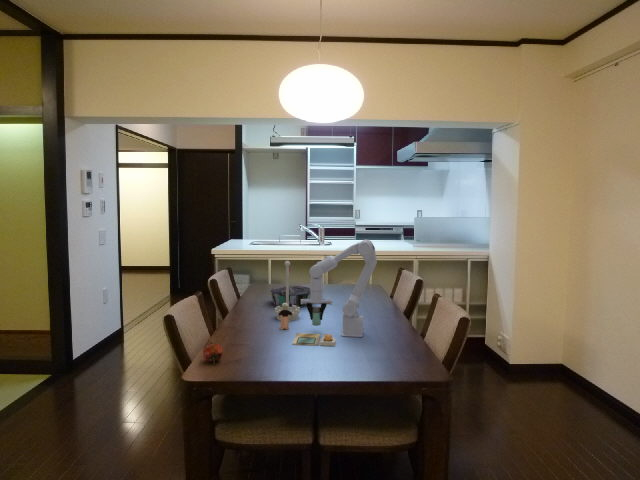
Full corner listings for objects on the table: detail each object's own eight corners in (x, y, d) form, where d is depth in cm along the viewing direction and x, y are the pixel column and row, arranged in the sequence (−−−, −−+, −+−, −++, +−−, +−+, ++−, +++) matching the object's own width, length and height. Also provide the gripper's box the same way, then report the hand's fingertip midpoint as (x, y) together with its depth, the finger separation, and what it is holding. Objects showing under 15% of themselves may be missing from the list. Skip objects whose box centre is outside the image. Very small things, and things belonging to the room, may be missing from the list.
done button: (332, 339, 186) (332, 334, 186) (331, 342, 183) (331, 336, 183) (324, 339, 186) (324, 334, 186) (324, 341, 183) (324, 336, 183)
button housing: (335, 341, 188) (335, 337, 188) (334, 346, 182) (335, 342, 181) (321, 341, 188) (321, 337, 188) (320, 345, 182) (320, 342, 182)
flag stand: (296, 322, 217) (296, 263, 214) (271, 320, 219) (271, 262, 216) (302, 315, 229) (302, 259, 227) (279, 314, 232) (278, 258, 229)
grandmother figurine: (278, 330, 202) (278, 304, 201) (276, 328, 206) (276, 302, 205) (294, 329, 205) (294, 303, 203) (292, 327, 208) (292, 301, 207)
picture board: (320, 335, 196) (320, 333, 196) (318, 345, 182) (318, 343, 182) (296, 334, 197) (296, 332, 197) (292, 344, 183) (292, 342, 183)
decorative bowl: (321, 310, 248) (322, 293, 248) (275, 310, 238) (276, 292, 237) (305, 300, 272) (306, 284, 271) (263, 300, 262) (264, 284, 261)
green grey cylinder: (321, 323, 203) (321, 306, 202) (320, 325, 199) (320, 308, 198) (312, 323, 203) (312, 306, 202) (311, 325, 199) (311, 308, 198)
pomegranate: (225, 368, 163) (224, 346, 170) (222, 358, 157) (221, 335, 165) (204, 371, 161) (204, 349, 168) (201, 361, 156) (201, 338, 163)
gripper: (332, 289, 203) (332, 317, 204) (302, 288, 204) (302, 316, 205) (331, 292, 196) (331, 321, 197) (300, 291, 197) (300, 320, 198)
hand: (316, 319), depth 201 cm, fingers closed on green grey cylinder, 4 cm apart
